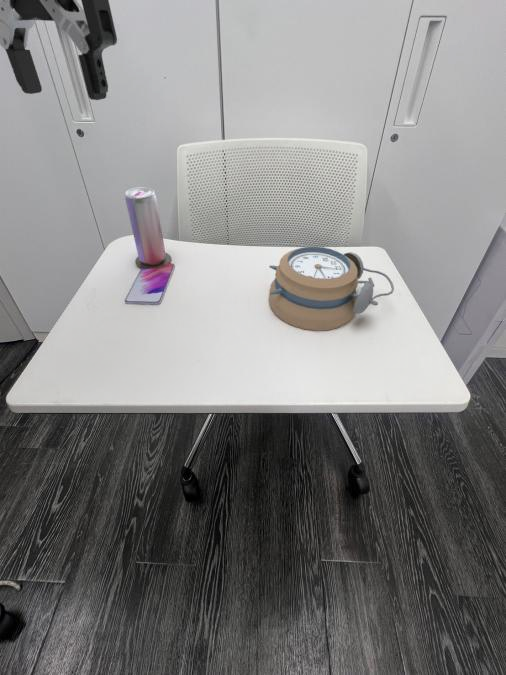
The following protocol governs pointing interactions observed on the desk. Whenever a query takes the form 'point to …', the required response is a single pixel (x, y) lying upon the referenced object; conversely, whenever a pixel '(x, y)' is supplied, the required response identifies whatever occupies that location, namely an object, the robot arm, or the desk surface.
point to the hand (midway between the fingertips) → (65, 95)
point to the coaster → (141, 265)
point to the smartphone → (150, 286)
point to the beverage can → (146, 225)
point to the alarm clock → (320, 288)
